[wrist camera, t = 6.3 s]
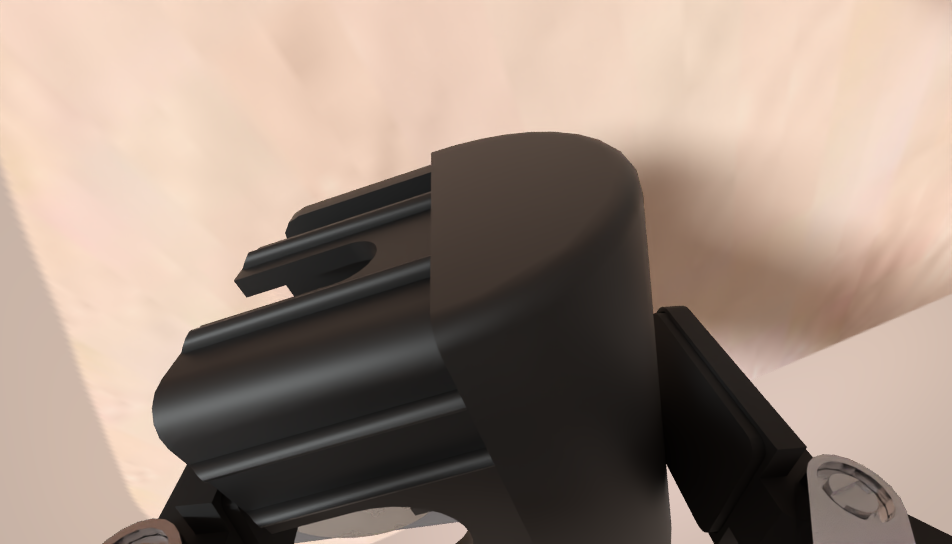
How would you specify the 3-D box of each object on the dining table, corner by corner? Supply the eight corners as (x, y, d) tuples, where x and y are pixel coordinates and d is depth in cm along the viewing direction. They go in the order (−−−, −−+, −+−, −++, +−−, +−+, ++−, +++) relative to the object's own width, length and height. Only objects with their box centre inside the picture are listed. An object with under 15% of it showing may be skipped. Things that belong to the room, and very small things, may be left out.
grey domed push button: (464, 361, 24) (470, 408, 21) (467, 478, 31) (473, 526, 28) (212, 384, 23) (183, 438, 20) (271, 501, 29) (256, 554, 27)
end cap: (611, 384, 15) (724, 623, 9) (423, 436, 15) (417, 690, 10) (559, 97, 9) (758, 235, 4) (273, 194, 10) (59, 443, 4)
